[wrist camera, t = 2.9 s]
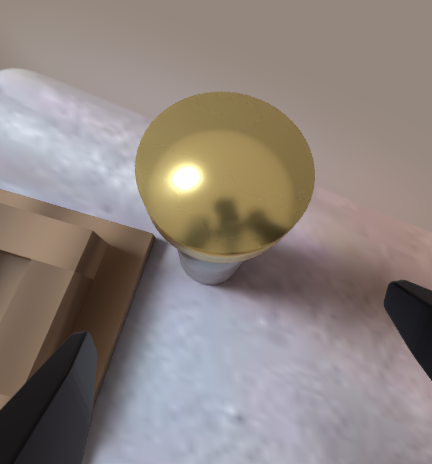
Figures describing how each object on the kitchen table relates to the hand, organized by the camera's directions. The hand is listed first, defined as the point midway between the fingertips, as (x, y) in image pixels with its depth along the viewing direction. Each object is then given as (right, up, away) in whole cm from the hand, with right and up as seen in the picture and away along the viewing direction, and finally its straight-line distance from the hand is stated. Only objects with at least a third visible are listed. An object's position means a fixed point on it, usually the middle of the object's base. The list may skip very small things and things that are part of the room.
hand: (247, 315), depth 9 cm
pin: (-1, +1, +12) cm, 12 cm away
